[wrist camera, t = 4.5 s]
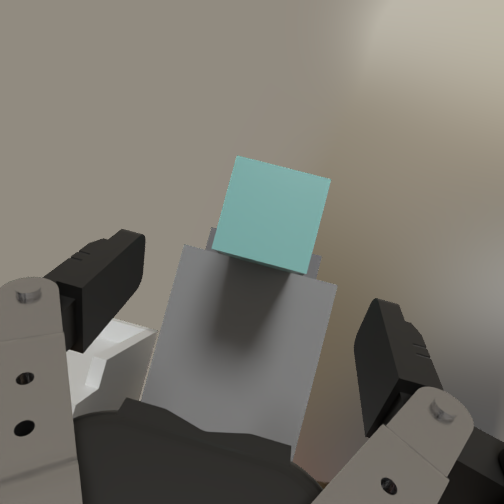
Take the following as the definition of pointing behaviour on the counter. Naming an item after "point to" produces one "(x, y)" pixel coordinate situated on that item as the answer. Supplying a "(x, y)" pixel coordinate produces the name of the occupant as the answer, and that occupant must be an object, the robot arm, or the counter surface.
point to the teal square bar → (271, 215)
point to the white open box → (110, 367)
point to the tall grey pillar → (240, 345)
